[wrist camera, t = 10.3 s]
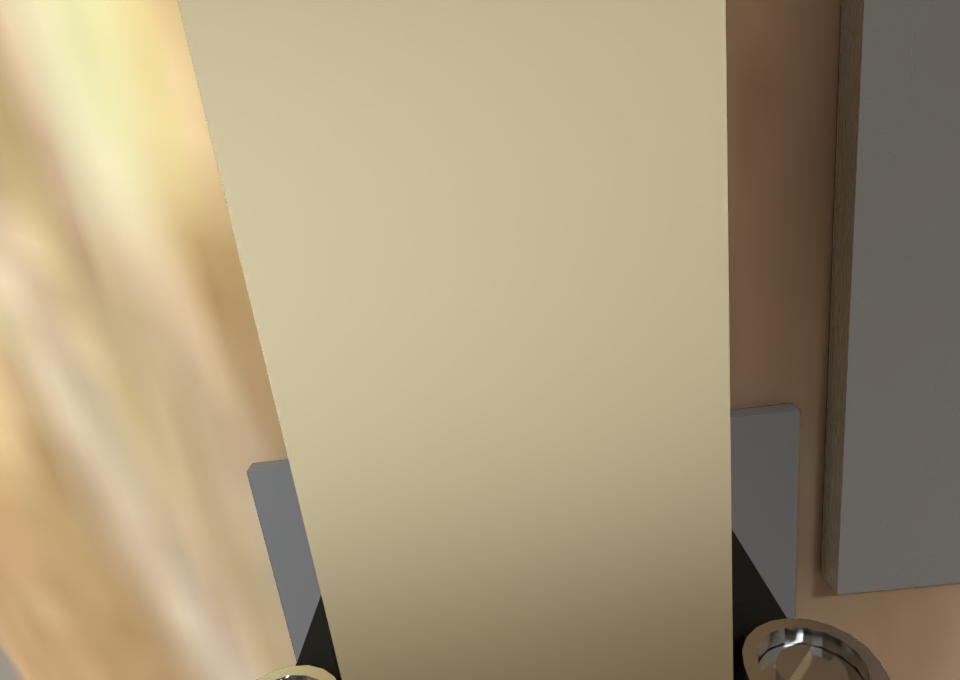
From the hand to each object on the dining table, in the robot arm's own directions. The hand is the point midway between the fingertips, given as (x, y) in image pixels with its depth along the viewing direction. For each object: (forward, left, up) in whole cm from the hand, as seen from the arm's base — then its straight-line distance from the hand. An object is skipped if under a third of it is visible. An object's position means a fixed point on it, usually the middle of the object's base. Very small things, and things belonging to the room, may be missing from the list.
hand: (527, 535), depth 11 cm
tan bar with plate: (0, 0, -1) cm, 1 cm away
